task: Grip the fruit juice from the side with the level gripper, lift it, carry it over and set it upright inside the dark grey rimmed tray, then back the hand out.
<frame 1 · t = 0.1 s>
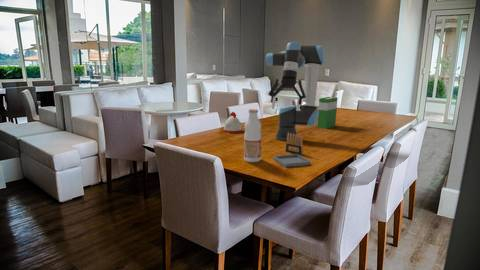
hand: (284, 109, 176), 28 cm above the table, tool tilted 20°, fingers open, 13 cm apart
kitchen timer: (232, 131, 253), on the table
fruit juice: (252, 160, 181), on the table
green white box: (326, 126, 273), on the table
ammunition clip: (294, 153, 196), on the table
tray: (291, 162, 178), on the table
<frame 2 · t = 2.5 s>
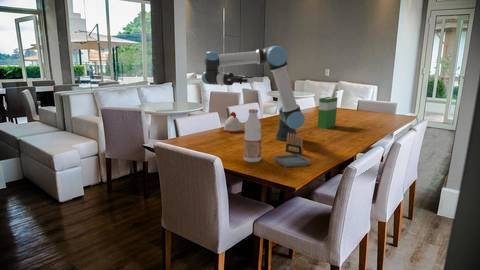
hand: (258, 80, 186), 43 cm above the table, tool horizontal, fingers open, 13 cm apart
nothing on the table moved.
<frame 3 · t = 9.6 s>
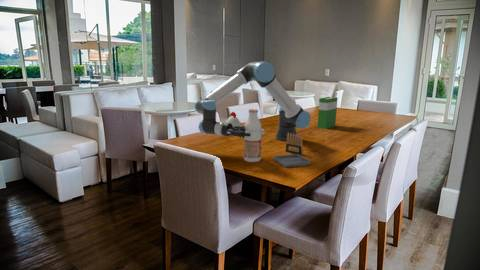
hand: (260, 133, 176), 16 cm above the table, tool horizontal, fingers closed on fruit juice, 9 cm apart
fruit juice: (252, 160, 181), on the table, touching gripper
everything else where it was.
when the fingers open (17 cm above the table, at t = 17.9 s): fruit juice stays where it is, resting on tray.
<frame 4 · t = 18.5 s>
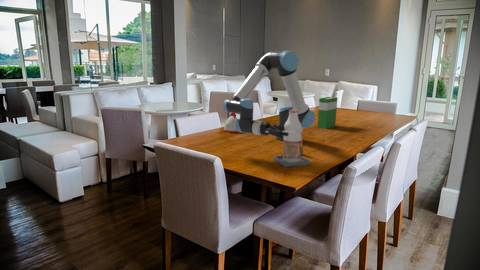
hand: (298, 132, 173), 17 cm above the table, tool horizontal, fingers open, 13 cm apart
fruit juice: (291, 161, 178), resting on tray
everything else where it was.
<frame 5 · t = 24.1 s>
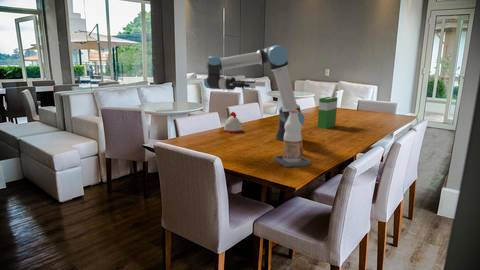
hand: (260, 84, 188), 40 cm above the table, tool horizontal, fingers open, 13 cm apart
nothing on the table moved.
at the end: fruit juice inside the target area on the tray (0.1 cm from its centre), point 0.4 cm above the tray's base; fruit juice tilted 0°; the gripper is holding nothing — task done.
